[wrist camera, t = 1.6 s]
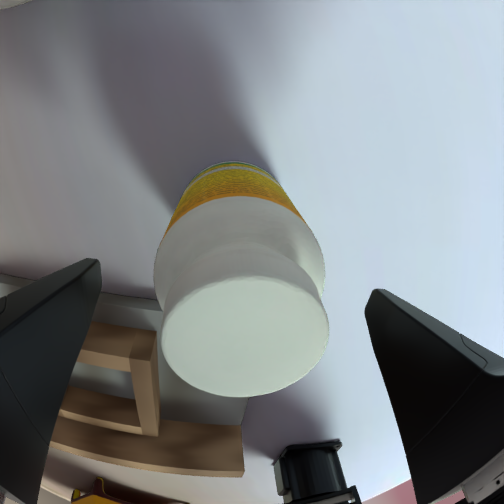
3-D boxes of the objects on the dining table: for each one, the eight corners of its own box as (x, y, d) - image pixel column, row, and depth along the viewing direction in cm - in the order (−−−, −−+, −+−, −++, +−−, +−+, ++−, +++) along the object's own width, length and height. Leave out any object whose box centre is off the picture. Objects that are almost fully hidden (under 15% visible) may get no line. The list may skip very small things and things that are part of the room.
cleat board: (268, 311, 18) (283, 381, 13) (236, 428, 24) (240, 480, 20) (-29, 266, 15) (-70, 309, 10) (19, 388, 21) (1, 429, 16)
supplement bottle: (299, 236, 16) (369, 375, 8) (207, 272, 17) (199, 427, 8) (264, 141, 14) (330, 203, 5) (161, 184, 14) (86, 299, 6)
